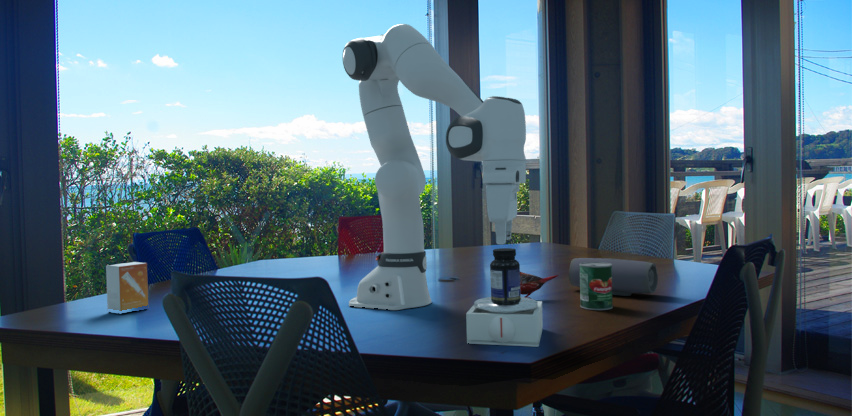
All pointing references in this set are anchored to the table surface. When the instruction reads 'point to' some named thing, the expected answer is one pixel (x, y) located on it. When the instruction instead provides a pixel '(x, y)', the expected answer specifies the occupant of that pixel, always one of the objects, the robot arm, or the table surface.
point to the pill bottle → (505, 277)
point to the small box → (127, 285)
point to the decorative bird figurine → (531, 283)
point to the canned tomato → (596, 285)
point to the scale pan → (505, 306)
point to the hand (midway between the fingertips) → (503, 241)
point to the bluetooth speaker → (622, 275)
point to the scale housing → (505, 327)
